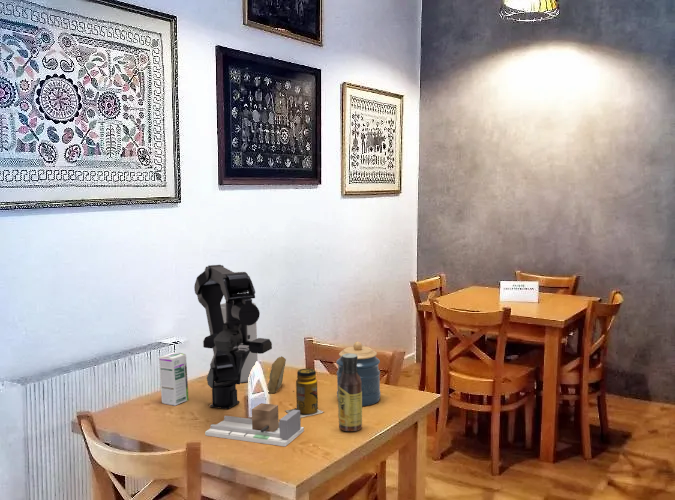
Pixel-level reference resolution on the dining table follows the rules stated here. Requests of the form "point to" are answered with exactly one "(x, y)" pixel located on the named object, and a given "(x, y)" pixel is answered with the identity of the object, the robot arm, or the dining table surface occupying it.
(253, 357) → the cylinder vase
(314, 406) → the condiment
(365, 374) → the canister
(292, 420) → the gauge base
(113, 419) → the dining table surface
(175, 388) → the syrup box
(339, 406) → the sauce bottle
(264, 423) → the brown cardboard cube
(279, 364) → the rock
